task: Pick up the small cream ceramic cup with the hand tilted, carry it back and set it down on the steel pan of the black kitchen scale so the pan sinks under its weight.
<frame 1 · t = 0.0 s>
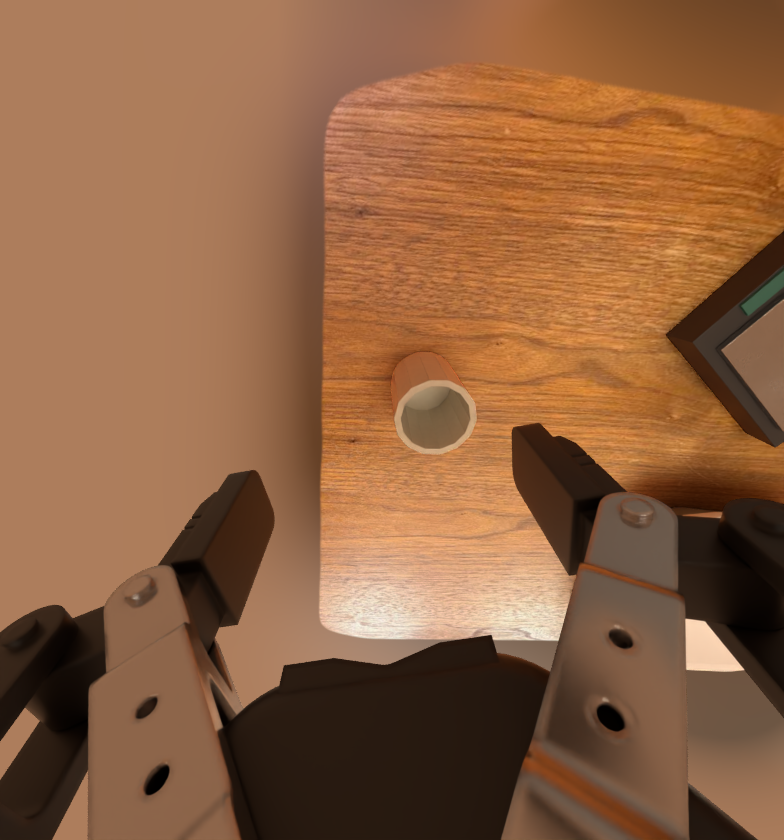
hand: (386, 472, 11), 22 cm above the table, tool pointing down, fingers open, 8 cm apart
cup: (422, 382, 33), on the table
bowl: (674, 542, 44), on the table
scale: (778, 332, 33), on the table
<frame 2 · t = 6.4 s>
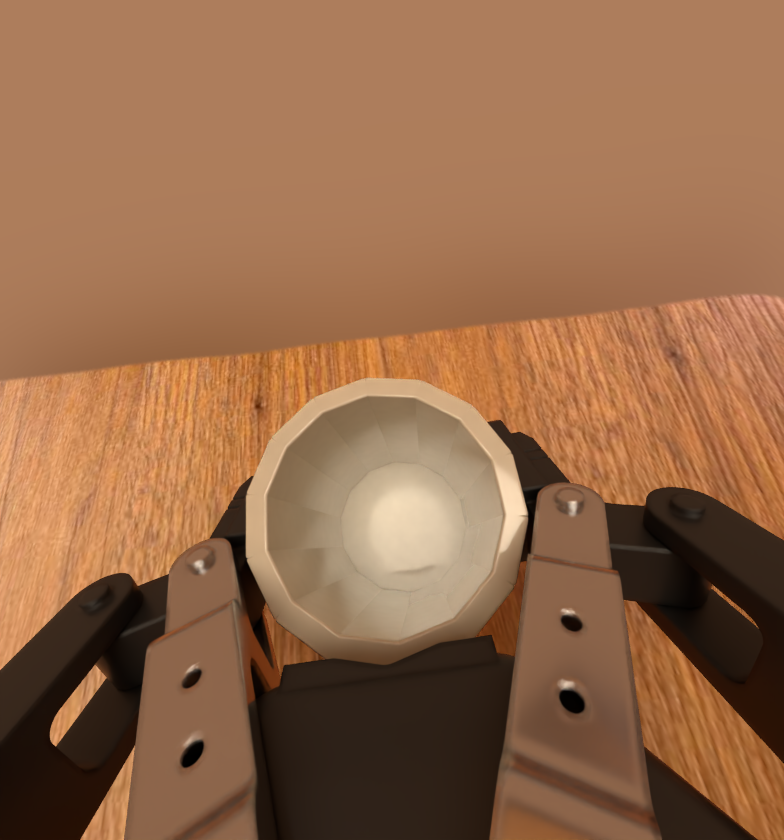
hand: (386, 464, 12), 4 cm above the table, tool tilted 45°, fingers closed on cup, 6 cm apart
cup: (403, 523, 15), on the table, touching gripper
when the fingers open (8 cm above the table, at t = 16.8 s): cup moves 3 cm, resting on scale pan.
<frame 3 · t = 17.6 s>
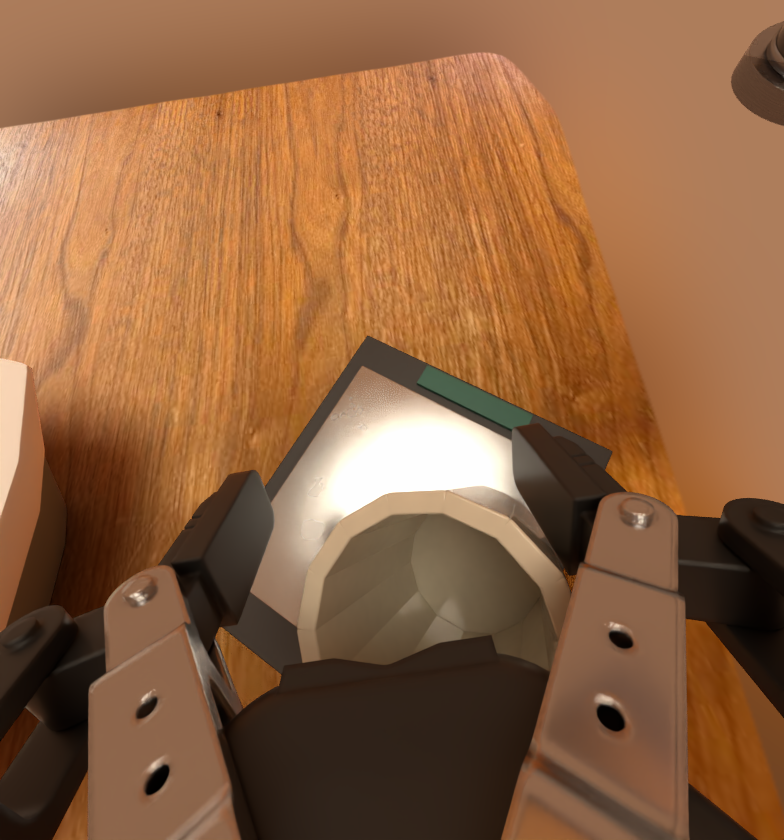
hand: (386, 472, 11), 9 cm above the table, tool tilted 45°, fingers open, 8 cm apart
cup: (475, 559, 15), point 5 cm above the table, tilted 18°, touching gripper, scale pan
scale: (406, 527, 20), on the table
scale pan: (403, 524, 16), point 3 cm above the table, slide at -0.3 cm, touching cup, scale
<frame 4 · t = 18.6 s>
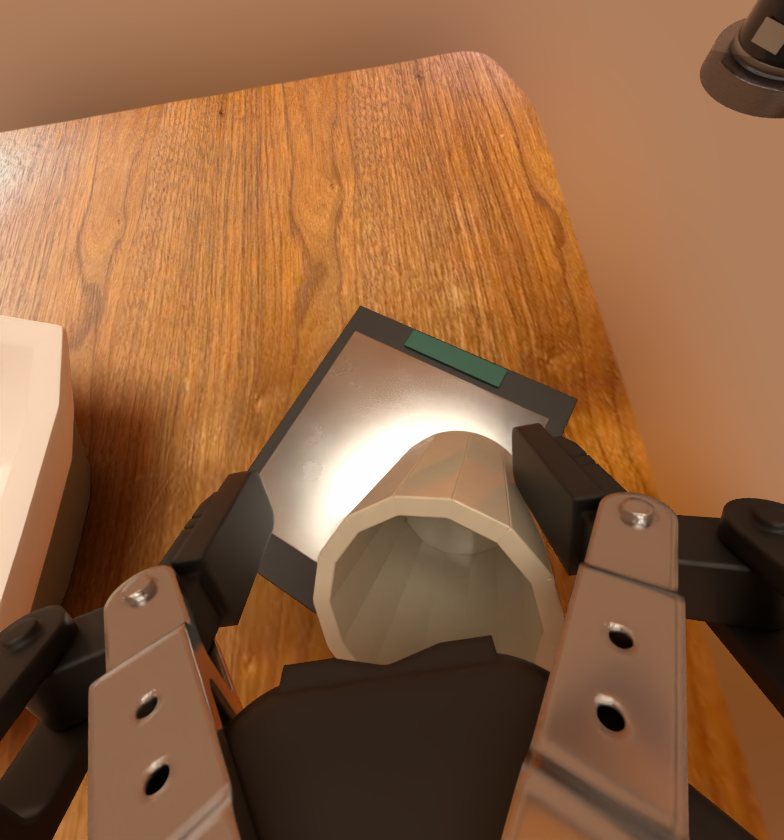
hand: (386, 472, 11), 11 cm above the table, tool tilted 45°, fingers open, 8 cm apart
cup: (458, 495, 16), point 5 cm above the table, tilted 30°, touching gripper, scale pan
bowl: (7, 544, 23), on the table
scale: (397, 476, 22), on the table
scale pan: (392, 464, 19), point 3 cm above the table, slide at -0.3 cm, touching cup, scale
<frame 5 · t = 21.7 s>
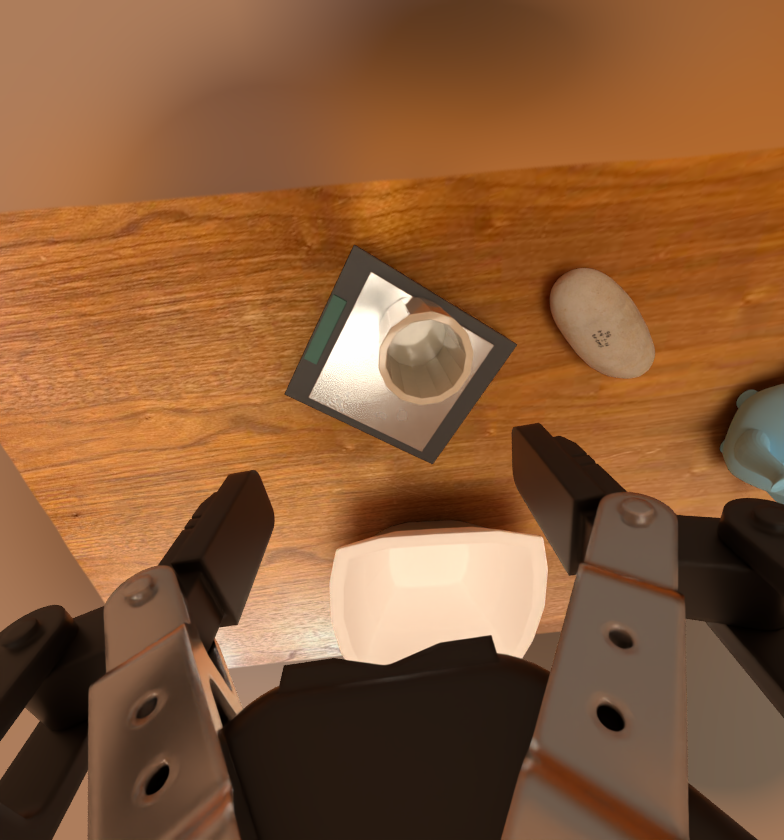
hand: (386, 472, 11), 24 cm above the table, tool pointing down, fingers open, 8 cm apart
cup: (413, 334, 30), point 4 cm above the table, touching scale pan
bowl: (427, 552, 45), on the table
scale: (397, 360, 34), on the table
scale pan: (399, 371, 31), point 3 cm above the table, slide at -0.3 cm, touching cup, scale
teapot: (759, 424, 39), on the table
stone: (587, 321, 34), on the table
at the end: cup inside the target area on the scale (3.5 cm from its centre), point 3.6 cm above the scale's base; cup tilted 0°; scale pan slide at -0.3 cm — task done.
